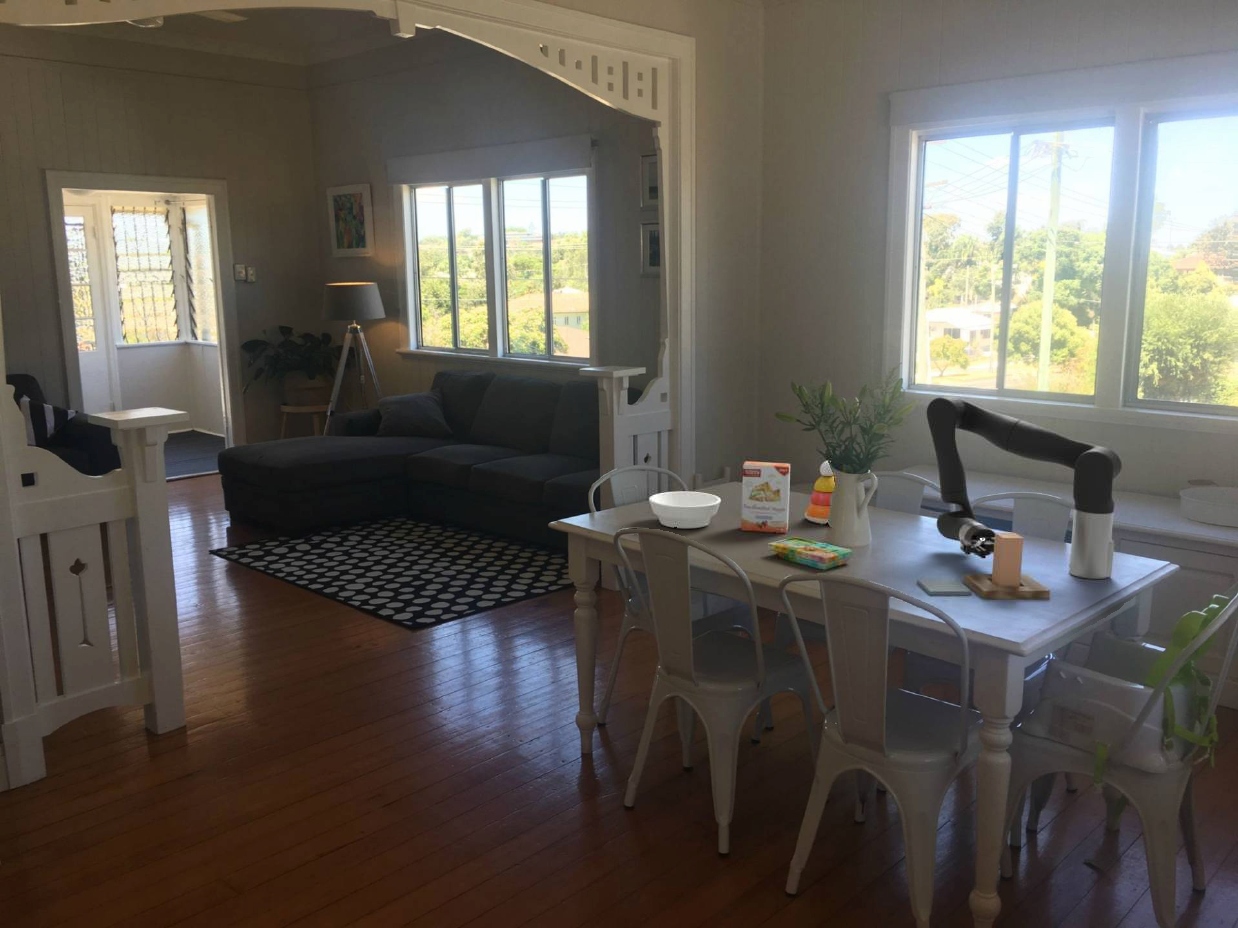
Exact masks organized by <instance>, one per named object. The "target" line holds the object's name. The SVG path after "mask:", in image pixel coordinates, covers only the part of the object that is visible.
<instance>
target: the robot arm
mask: <svg viewBox="0 0 1238 928" xmlns="http://www.w3.org/2000/svg"><path fill="white" fill-rule="evenodd" d="M926 418H927V424H928V427H929V430H930V433H931V434H930V435H931V438H932V442H933V447H934V451H935V455H936V462H937V468H938V478H939V487H940V497H941V501H942V502H943V503H945V504H950V505H952V504H953V505H957V506H958V507H959V510H956V511H955V510H953V511H947V512H943V513H940V514H939V516H938V517H937V519H936V528H937V531H938V532H939V534H940V535H941V536H942V537H944V538H946V539H948V540H952V541H957V542H960V547H959V549H960V550H961V552H963V553H964V554H965V555H967V556H968V555H971V554H973V555H974V556H977V557H980V558H981V559H986V556H990V555H991V554H993V555H994V541H995V533H996V532H995V531H993V530H992V529H990V528H989V527H987V526H986V525H985V524H982V523H981V522H979V521H977V518H976V516H975V513H974V510H973V508H972V506H971V502H970V500H969V496H968V490H967V489H968V488H967V477H966V471H965V467H964V465H963V462H962V459H961V456H960V454H959V451H958V447H957V442H956V429H957V430H963V431H966V432H968V433H973V434H976V435H978V436H980V437H982V438H983V439H985V440H986V441H988V442H989V443H990V444H993V445H994V446H995V447H997V448H998V449H1001V450H1003V451H1005V452H1008V453H1011V454H1012V455H1016V456H1018V457H1021V458H1023V459H1030V460H1033V461H1039V462H1045V463H1052V464H1058V465H1060V466H1065V467H1067V468H1070V469H1072V470H1074V471H1073V489H1072V490H1073V491H1072V493H1073V496H1072V498H1073V501H1074V510H1073V521H1072V533H1071V542H1070V543H1071V545H1070V555H1069V556H1070V557H1069V564H1068V565H1069V567H1068V573H1069V574H1070V575H1072V576H1074V577H1079V578H1084V579H1091V580H1099V579H1107V578H1111V577H1112V571H1113V561H1114V553H1115V552H1114V550H1115V541H1114V540H1113V539H1112V533H1113V522H1114V521H1113V520H1114V513H1115V512H1114V511H1115V501H1114V500H1113V495H1112V494H1113V482H1114V479H1115V478H1116V477H1118V475H1119V474H1120V472H1121V471H1122V466H1123V464H1122V461H1121V457H1119V455H1118V454H1117V453H1116V452H1115V451H1114V450H1112V449H1110V448H1107V447H1104V446H1100V445H1095V444H1092V443H1086V442H1084V441H1079V440H1075V439H1072V438H1069V437H1066V436H1065V435H1062V434H1060V433H1057V432H1055V431H1053V430H1051V429H1050V430H1049V429H1047V428H1044V427H1042V426H1039V425H1038V424H1035V423H1031V422H1028V421H1025V420H1023V419H1020V418H1016V417H1012V416H1010V415H1006V414H1002V413H999V412H994V411H990V410H987V409H985V408H982V407H980V406H978V405H976V404H974V403H972V402H970V401H968V400H965V399H963V398H962V397H959V396H955V395H945V396H939V397H936V398H934V399H932V400H931V401H930V403H929V404H928V405H927V408H926Z"/></svg>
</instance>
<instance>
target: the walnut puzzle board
mask: <svg viewBox="0 0 1238 928" xmlns="http://www.w3.org/2000/svg"><path fill="white" fill-rule="evenodd" d="M962 583H964V584H965V586H968V587H969V588H970V589H971V591H973V592H975V593H976V594H977V595H978V596H979V597H981V598H982V599H983V600H1001V599H1002V600H1024V599H1025V600H1028V599H1029V600H1031V599H1032V600H1033V599H1034V600H1035V599H1036V600H1038V599H1043V600H1044V599H1045V600H1047V599H1050V598H1051V590H1050V589H1048V588H1047V587H1045V586H1044V585H1042V584H1041V583H1040V582H1038V581H1037V580H1035V579H1034V578H1032V577H1031V576H1029V575H1028V574H1027V573H1021V577H1020V586H1009V587H997V586H996V585H995V584H993V583H992V573H991V574H990V573H976V574H975V573H972V574H971V573H963V579H962Z"/></svg>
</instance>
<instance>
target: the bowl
mask: <svg viewBox="0 0 1238 928" xmlns="http://www.w3.org/2000/svg"><path fill="white" fill-rule="evenodd" d="M648 501H649V504H650V506H651V510H652V513H653V514H655V515H656V516H657V517H658V519H659V522H660V524H661V525H663V526H666V527H670V528H674V527H677V528H676V529H697V528H703V527H706V526H707V525H709V524H710V521H711V518H712V517H714V516H715V515H716V514H717V513H718V510H719V507H720V505H721V502H722V500H721V498H720V497H719V496H717V495H714V494H710V493H706V492H700V491H667V492H666V491H665V492H661V493H656V494H653V495H651V496H649V498H648Z"/></svg>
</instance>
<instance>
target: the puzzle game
mask: <svg viewBox="0 0 1238 928" xmlns="http://www.w3.org/2000/svg"><path fill="white" fill-rule="evenodd" d="M766 545H767V546H766V548H767V549H768V550H770V551H773V552H777V556H778V557H780V559H784V560H786V561H791V562H794V563H798V564H802V565H805V566H809V567H812V568H816V569H820V570H824V571H825V570H828V569H831V568H835V566H836V567H838V566H837V565H839V566H841V565H842V564H843V565H846V564H847V562H848V561H849V560H850V558H851V557H853V550H851V549H848V548H846V547H845V548H844V547H840V546H836V545H831V544H828V543H826V542H818V541H816V540H811V539H806V538H801V537H798V536H793V537H789V538H785V539H780V540H777V541H773V542H769V543H767V544H766ZM845 563H846V564H845Z"/></svg>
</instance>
